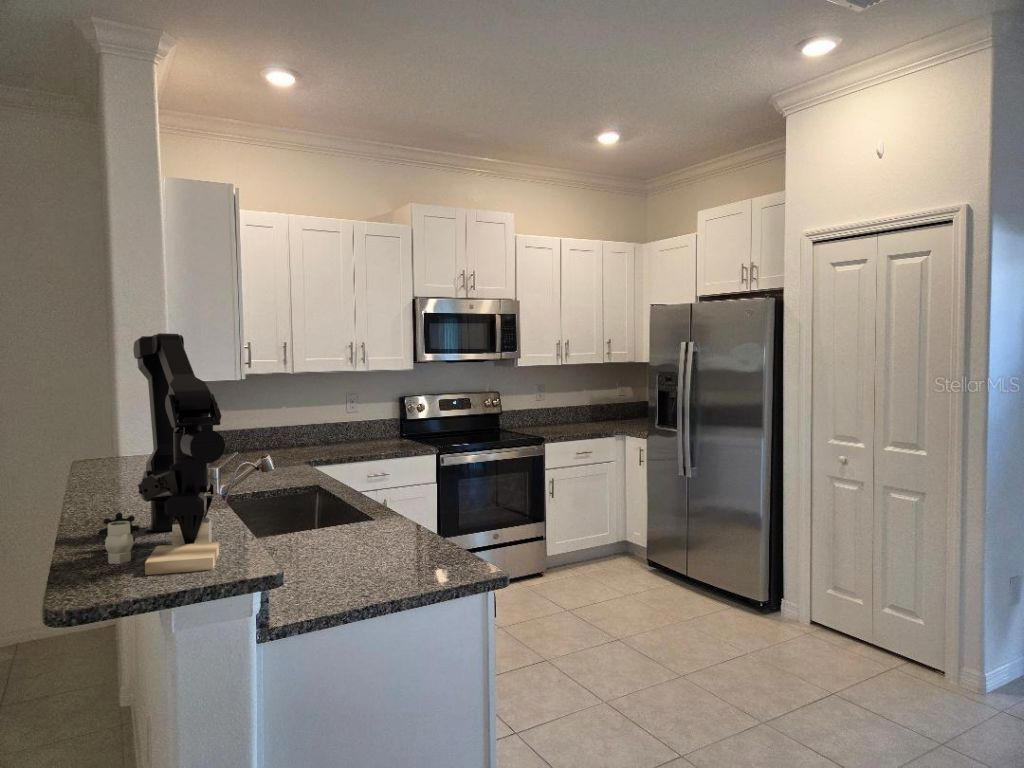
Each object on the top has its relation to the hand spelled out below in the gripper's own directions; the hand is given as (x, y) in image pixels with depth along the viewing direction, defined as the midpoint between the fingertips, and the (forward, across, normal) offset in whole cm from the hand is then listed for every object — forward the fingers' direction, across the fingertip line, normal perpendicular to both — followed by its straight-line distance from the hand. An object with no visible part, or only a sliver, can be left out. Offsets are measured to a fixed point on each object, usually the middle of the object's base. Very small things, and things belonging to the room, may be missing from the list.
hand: (192, 541), depth 126 cm
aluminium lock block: (+1, 0, 0) cm, 1 cm away
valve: (+1, +1, -12) cm, 12 cm away
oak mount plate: (+1, +10, 0) cm, 10 cm away
